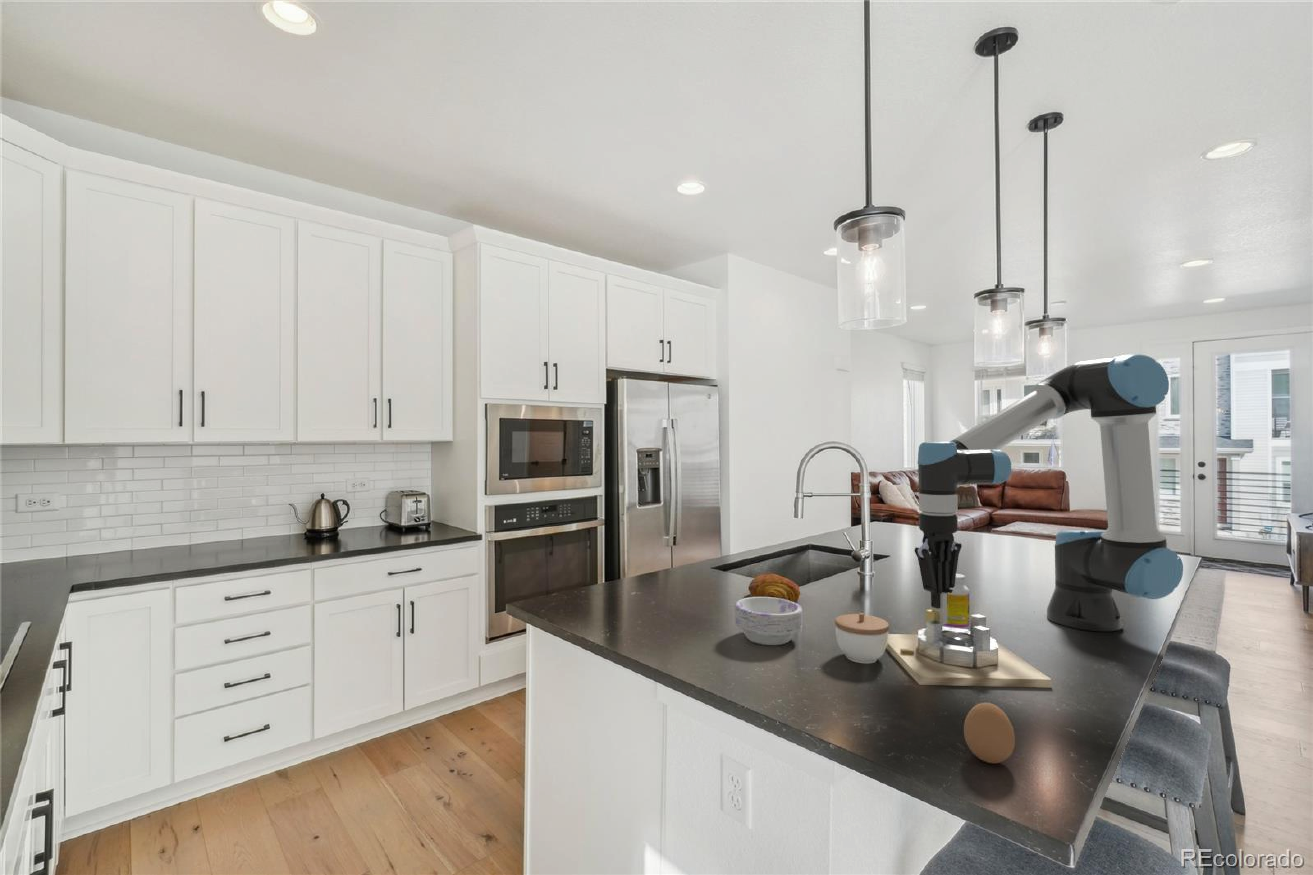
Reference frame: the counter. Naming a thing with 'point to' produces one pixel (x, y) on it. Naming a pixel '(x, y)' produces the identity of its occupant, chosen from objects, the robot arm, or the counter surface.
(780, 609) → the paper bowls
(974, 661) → the ring nut
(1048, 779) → the counter surface
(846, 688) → the counter surface
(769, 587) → the croissant
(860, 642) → the lidded jar
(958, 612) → the supplement bottle
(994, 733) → the egg
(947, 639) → the dark grey dome
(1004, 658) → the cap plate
